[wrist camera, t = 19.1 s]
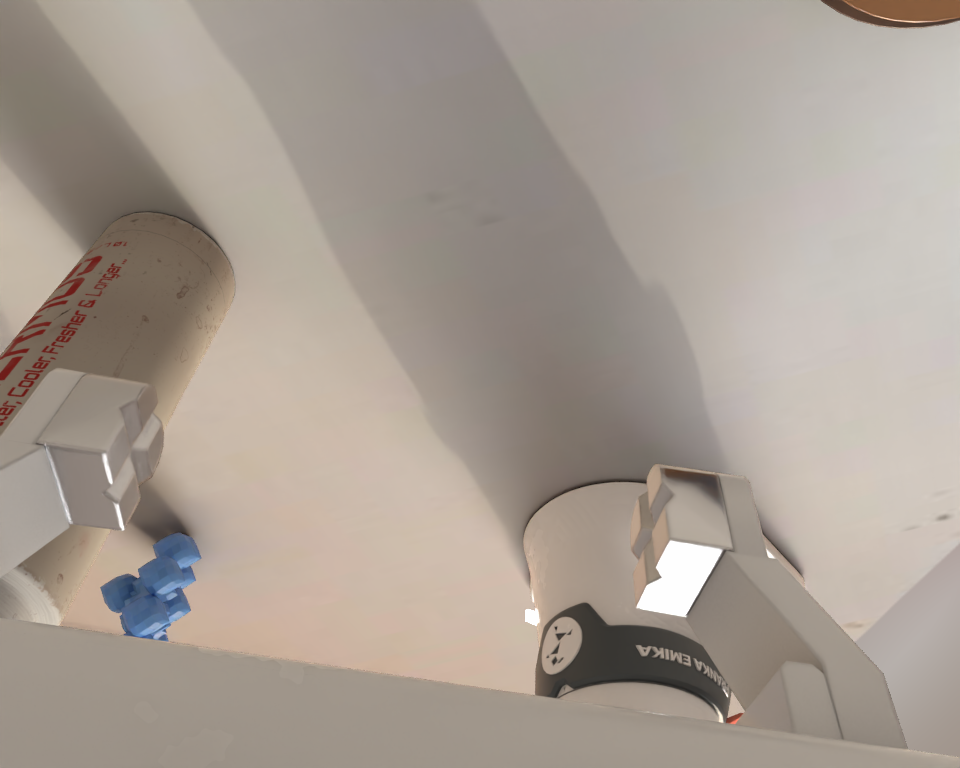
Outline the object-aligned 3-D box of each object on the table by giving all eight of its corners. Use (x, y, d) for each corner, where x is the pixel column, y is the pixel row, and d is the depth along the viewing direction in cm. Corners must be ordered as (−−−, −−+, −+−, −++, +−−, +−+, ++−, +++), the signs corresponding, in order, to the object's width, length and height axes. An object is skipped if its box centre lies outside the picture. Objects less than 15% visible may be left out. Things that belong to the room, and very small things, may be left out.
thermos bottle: (73, 223, 45) (-351, 689, 24) (198, 200, 43) (-138, 677, 23) (142, 333, 50) (-159, 796, 29) (257, 315, 49) (26, 794, 28)
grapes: (137, 479, 60) (62, 619, 51) (226, 504, 61) (168, 645, 52) (128, 563, 67) (61, 698, 58) (207, 584, 68) (154, 719, 59)
